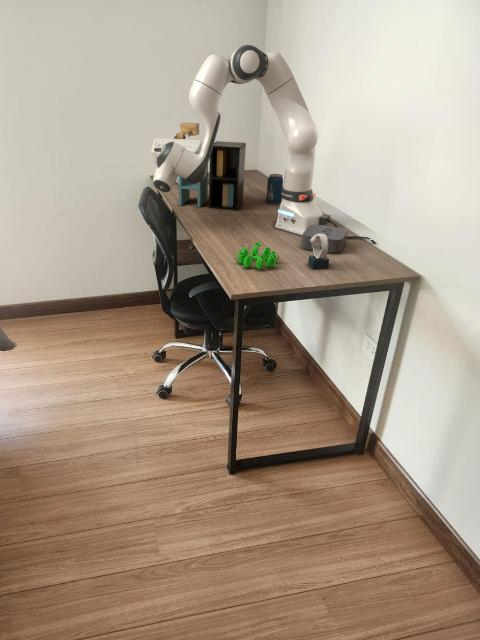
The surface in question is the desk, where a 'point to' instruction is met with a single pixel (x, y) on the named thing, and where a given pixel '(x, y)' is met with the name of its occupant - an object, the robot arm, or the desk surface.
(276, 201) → the soda can
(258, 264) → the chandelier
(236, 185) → the shelf
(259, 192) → the desk surface
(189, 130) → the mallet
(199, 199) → the stand
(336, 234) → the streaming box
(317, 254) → the watch
